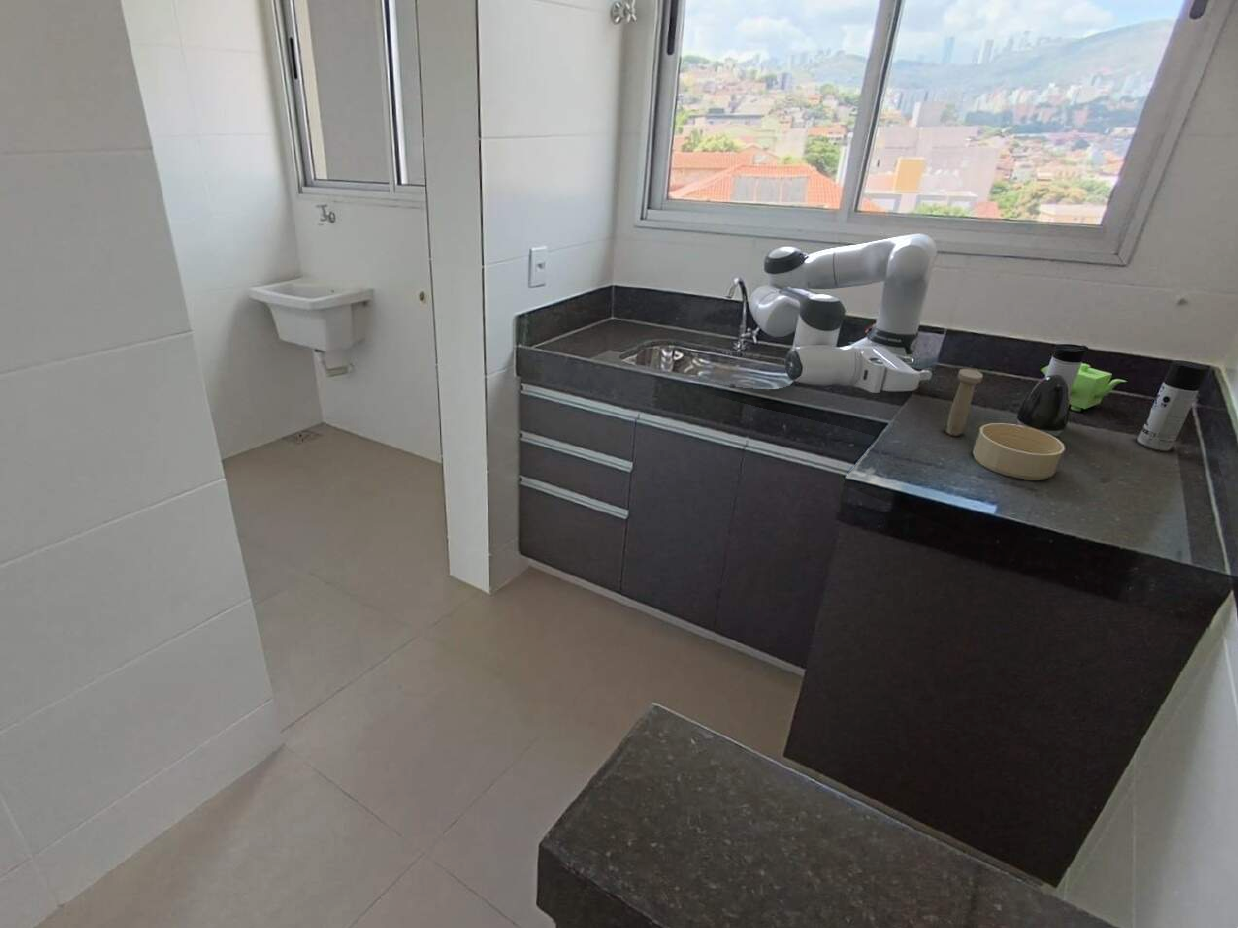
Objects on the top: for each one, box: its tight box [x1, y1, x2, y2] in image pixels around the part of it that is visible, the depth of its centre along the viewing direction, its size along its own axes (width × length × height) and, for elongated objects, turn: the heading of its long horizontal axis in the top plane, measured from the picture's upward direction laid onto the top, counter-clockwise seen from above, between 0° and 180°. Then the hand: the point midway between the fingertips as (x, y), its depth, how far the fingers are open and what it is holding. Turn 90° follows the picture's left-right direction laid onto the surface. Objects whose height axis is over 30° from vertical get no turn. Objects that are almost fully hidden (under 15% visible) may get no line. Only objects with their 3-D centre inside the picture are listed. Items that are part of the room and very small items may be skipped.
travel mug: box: [1044, 343, 1089, 393], centre depth 164 cm, size 6×7×20 cm
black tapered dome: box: [1016, 375, 1071, 438], centre depth 158 cm, size 10×10×15 cm
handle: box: [945, 368, 984, 437], centre depth 156 cm, size 5×6×15 cm
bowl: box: [972, 422, 1066, 481], centre depth 145 cm, size 16×16×6 cm
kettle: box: [1040, 362, 1127, 412], centre depth 179 cm, size 15×14×11 cm
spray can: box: [1137, 359, 1209, 452], centre depth 155 cm, size 7×7×20 cm
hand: (920, 368), depth 152 cm, fingers open, 8 cm apart
